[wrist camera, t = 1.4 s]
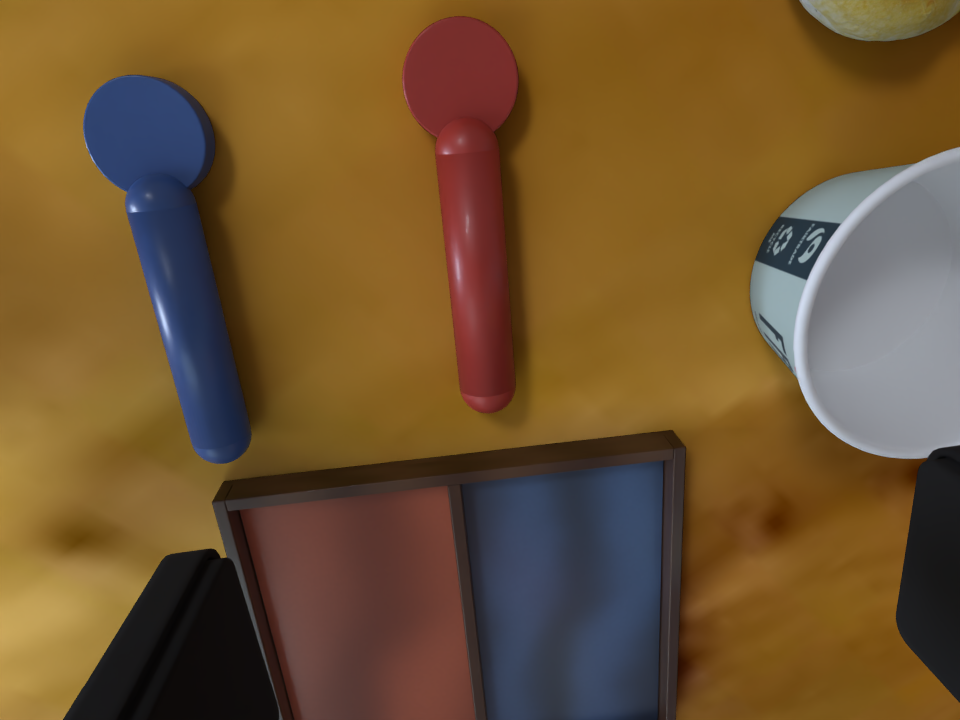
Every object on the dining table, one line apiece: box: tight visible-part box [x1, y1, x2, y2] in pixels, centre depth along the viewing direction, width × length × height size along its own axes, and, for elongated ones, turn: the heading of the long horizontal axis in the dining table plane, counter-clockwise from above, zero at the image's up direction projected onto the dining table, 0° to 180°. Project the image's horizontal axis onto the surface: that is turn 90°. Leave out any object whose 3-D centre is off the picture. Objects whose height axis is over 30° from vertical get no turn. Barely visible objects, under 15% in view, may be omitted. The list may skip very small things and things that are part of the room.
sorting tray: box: [212, 430, 686, 720], centre depth 34 cm, size 22×20×2 cm
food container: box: [750, 147, 960, 459], centre depth 26 cm, size 12×12×6 cm
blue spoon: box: [83, 75, 252, 464], centre depth 26 cm, size 16×4×2 cm, turn 5°
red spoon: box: [402, 16, 518, 413], centre depth 26 cm, size 16×4×2 cm, turn 5°
